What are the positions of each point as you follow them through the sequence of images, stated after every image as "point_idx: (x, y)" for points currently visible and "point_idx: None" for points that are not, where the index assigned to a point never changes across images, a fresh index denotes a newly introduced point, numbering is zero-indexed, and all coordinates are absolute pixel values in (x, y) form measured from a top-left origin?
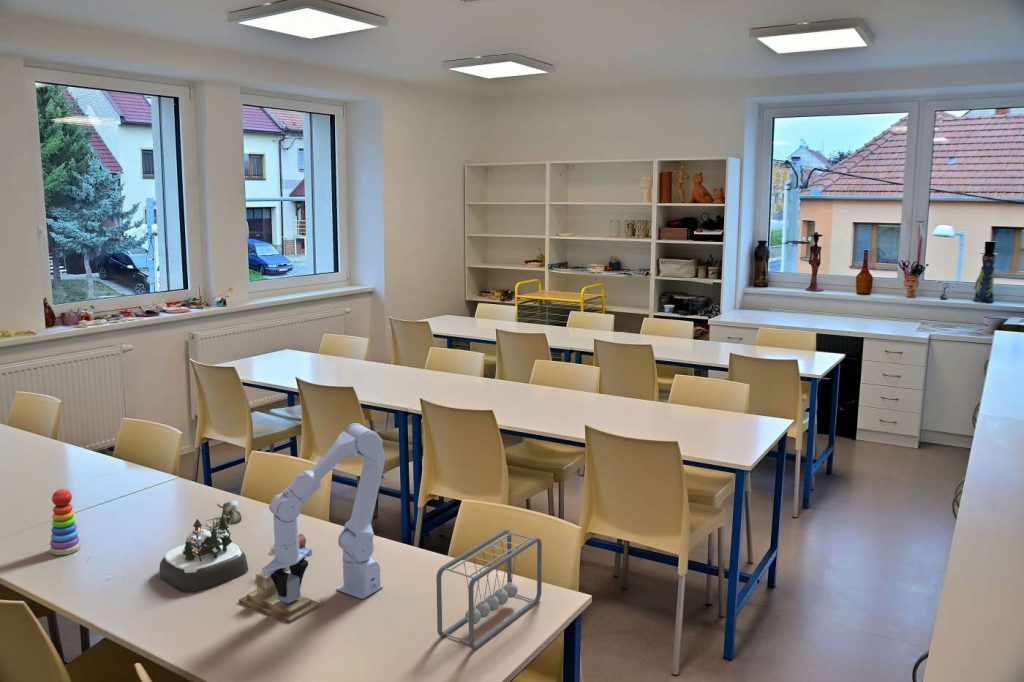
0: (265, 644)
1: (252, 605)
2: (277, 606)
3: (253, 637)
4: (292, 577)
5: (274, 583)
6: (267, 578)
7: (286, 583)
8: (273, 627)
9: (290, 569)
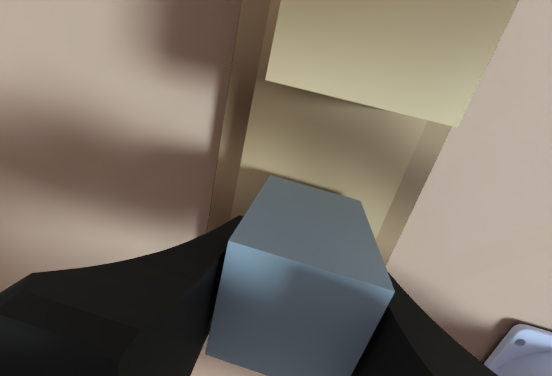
0: (71, 250)
1: (239, 16)
2: (235, 194)
3: (74, 191)
4: (307, 359)
5: (181, 246)
6: (284, 83)
7: (198, 353)
8: (156, 221)
9: (405, 353)
